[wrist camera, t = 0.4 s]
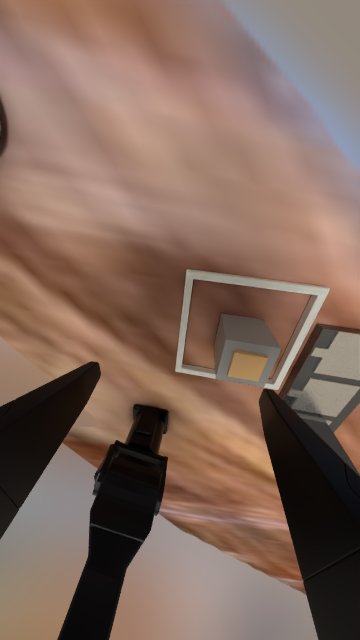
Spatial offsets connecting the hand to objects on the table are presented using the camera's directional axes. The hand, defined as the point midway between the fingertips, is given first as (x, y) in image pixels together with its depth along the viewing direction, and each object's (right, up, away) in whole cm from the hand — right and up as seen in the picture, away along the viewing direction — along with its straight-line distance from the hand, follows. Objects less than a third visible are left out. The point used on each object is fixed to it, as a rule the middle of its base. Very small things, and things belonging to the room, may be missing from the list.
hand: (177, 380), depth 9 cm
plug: (+8, +2, +13) cm, 15 cm away
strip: (+20, -7, +15) cm, 25 cm away
